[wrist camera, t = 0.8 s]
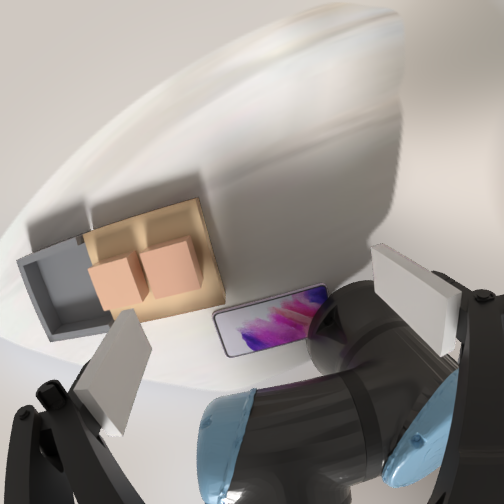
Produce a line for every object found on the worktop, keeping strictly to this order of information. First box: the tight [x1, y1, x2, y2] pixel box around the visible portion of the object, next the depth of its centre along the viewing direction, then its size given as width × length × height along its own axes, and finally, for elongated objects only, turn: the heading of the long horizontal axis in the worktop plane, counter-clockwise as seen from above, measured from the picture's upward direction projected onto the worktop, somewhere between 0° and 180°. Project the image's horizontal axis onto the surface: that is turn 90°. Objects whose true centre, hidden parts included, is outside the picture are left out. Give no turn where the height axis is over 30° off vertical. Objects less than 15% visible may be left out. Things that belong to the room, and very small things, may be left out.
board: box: [83, 197, 226, 323], centre depth 33 cm, size 12×14×3 cm
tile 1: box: [88, 251, 150, 311], centre depth 30 cm, size 5×5×3 cm
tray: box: [16, 231, 115, 342], centre depth 32 cm, size 12×11×4 cm
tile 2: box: [140, 235, 203, 299], centre depth 30 cm, size 5×5×3 cm
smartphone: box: [212, 283, 329, 358], centre depth 37 cm, size 7×1×15 cm
